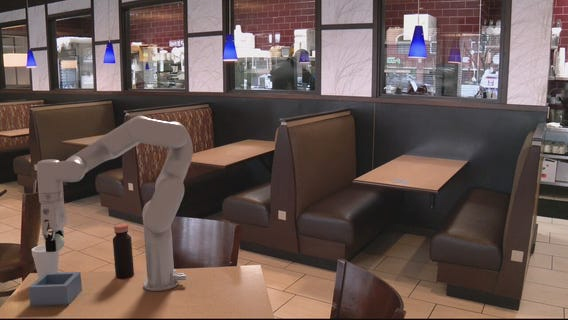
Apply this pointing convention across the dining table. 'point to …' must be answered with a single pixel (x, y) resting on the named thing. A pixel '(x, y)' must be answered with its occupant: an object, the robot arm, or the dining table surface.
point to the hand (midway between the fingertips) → (55, 247)
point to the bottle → (123, 252)
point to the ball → (59, 241)
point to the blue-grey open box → (55, 289)
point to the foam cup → (45, 260)
